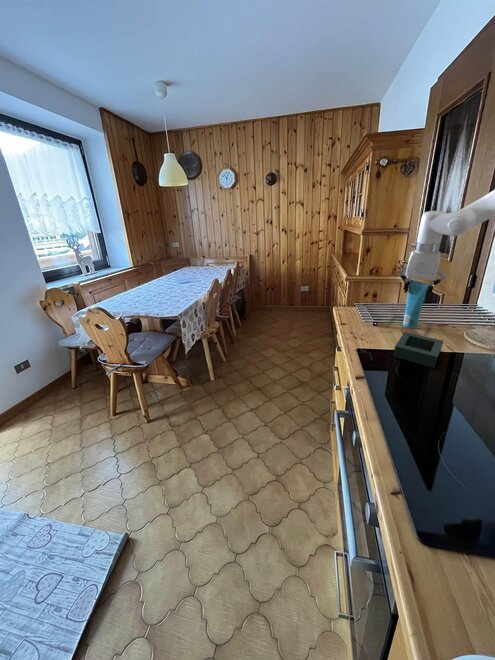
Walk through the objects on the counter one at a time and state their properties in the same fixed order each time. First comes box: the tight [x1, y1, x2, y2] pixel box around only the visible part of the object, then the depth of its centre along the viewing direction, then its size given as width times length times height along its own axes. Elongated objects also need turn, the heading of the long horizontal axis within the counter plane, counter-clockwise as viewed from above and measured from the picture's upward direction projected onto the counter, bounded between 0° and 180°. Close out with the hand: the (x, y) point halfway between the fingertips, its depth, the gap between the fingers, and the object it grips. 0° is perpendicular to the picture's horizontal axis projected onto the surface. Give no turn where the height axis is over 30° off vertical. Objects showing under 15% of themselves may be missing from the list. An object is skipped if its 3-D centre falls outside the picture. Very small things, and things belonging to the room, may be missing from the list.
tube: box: [402, 279, 430, 329], centre depth 113 cm, size 7×5×19 cm, turn 39°
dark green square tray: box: [392, 331, 444, 369], centre depth 98 cm, size 12×12×5 cm
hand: (416, 293), depth 111 cm, fingers closed on tube, 7 cm apart
